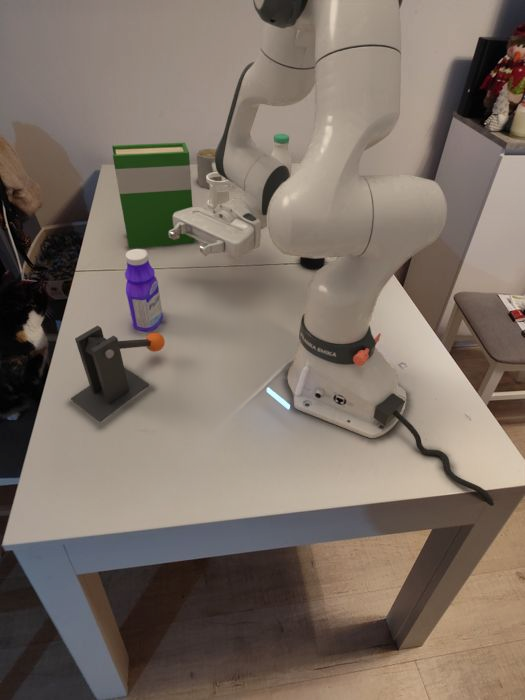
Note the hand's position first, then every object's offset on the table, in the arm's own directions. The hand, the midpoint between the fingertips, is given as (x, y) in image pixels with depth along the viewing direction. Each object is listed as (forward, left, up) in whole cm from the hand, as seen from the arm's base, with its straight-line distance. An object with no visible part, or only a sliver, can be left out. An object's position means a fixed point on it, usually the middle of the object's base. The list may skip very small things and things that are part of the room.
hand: (186, 243), depth 92 cm
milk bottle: (+18, -59, -15) cm, 64 cm away
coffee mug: (+42, -54, -15) cm, 70 cm away
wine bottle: (-12, -33, -15) cm, 38 cm away
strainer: (+21, -34, -15) cm, 43 cm away
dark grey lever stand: (-9, +30, -15) cm, 35 cm away
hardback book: (+27, -16, -15) cm, 35 cm away
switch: (-9, +25, -8) cm, 28 cm away
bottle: (+1, +12, -15) cm, 19 cm away
